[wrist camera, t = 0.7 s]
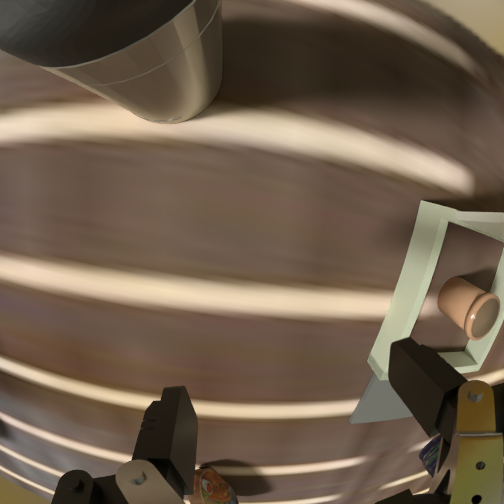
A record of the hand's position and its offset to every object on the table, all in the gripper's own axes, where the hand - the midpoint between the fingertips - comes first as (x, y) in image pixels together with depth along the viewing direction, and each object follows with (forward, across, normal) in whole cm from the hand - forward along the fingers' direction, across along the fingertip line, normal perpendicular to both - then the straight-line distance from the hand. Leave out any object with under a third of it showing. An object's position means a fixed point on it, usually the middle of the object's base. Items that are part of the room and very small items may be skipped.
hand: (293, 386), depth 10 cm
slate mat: (+20, -19, +25) cm, 37 cm away
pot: (+19, -25, +10) cm, 32 cm away
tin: (+21, +12, +38) cm, 45 cm away
